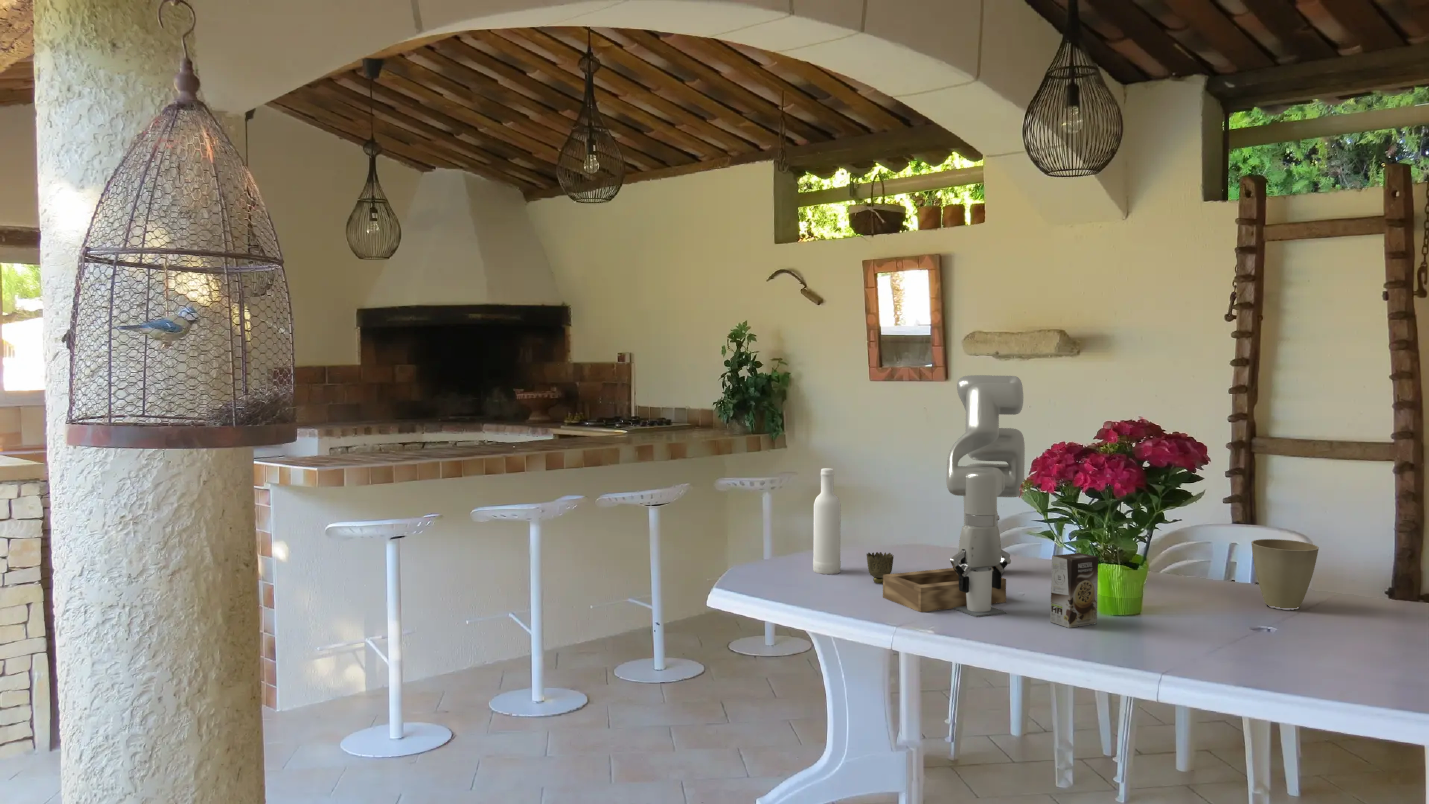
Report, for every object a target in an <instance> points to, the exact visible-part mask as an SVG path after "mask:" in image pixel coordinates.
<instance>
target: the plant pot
mask: <svg viewBox="0 0 1429 804" xmlns="http://www.w3.org/2000/svg"><path fill="white" fill-rule="evenodd" d="M1319 548H1320V547H1319V546H1318V545H1316V544H1313V543H1310V542H1305V541H1299V540H1293V539H1291V540H1290V539H1279V538H1278V539H1277V538H1276V539H1275V538H1271V539H1270V538H1265V539H1264V538H1262V539H1254V540H1252V541H1251V551H1252V557H1253V564H1254V570H1255V574H1256V578H1257V583H1258V585H1259V590H1260V592H1261V595H1262V599H1263V600H1264V603H1266V604H1267V605H1269V606H1275V607H1280V608H1297V607H1300V608H1301V606H1302V604H1303V602H1304V599H1305V597H1306V594H1307V592H1308V589H1309V586H1310V584H1311V582H1312V578H1313V574H1314V571H1315V567H1316V563H1317V560H1318V559H1317V558H1318V554H1319V550H1320V549H1319ZM1266 604H1265V605H1266Z"/></svg>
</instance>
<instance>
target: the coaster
mask: <svg viewBox="0 0 1429 804" xmlns="http://www.w3.org/2000/svg"><path fill="white" fill-rule="evenodd" d="M953 610H956V611H959V612H961V613H963V614H967V615H970V616H972V617H974V618H978V617H979V618H981V617H988V616H994V615H995V616H996V615H1002V614H1003V615H1004V614H1007V611H1005V610H1003V609H1000V608H997V607H995V606H994V607H993V606H991V610H990V611H986V612H975V611H970V610H968V609H967V606H960V607H954V608H953Z"/></svg>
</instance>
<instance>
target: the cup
mask: <svg viewBox="0 0 1429 804" xmlns="http://www.w3.org/2000/svg"><path fill="white" fill-rule="evenodd" d="M894 557H895V556H894V555H893V553H891V552H888V553H886V552H884V553H882V552H881V551H880V552H878V551H877V552H871V553H870V552H868V553H866V562H867V570H868V573H869V575H870V576H871V577H873V583H875V584H877V585H878V584H879V585H880V584H881V585H883V575H886V574H892V571H893V564H894Z"/></svg>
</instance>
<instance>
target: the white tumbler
mask: <svg viewBox="0 0 1429 804" xmlns="http://www.w3.org/2000/svg"><path fill="white" fill-rule="evenodd" d="M967 576H968V577H969V592H968V593H966V600H967V609H968V610H970V611H975V612H986V611H990V610H991V607H992V604H991V593H992V568H989V567H983V568H972V569H971V570H970V572H969V573H968V575H967Z"/></svg>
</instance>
